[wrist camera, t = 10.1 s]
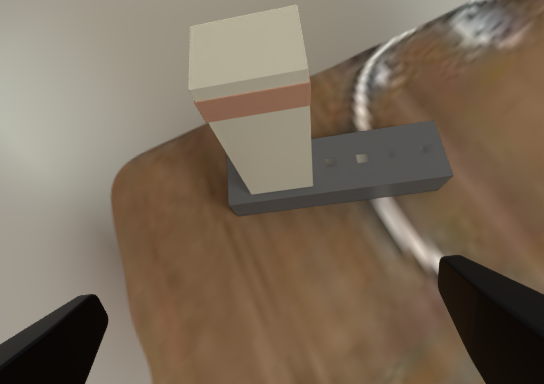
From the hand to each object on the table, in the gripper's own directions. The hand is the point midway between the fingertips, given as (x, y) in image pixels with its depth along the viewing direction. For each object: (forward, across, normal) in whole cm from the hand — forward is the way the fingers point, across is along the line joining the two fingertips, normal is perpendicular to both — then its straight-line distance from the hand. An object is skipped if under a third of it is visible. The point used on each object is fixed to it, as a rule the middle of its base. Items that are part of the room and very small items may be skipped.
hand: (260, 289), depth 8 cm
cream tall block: (+12, 0, +1) cm, 12 cm away
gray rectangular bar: (+14, -4, +3) cm, 15 cm away
